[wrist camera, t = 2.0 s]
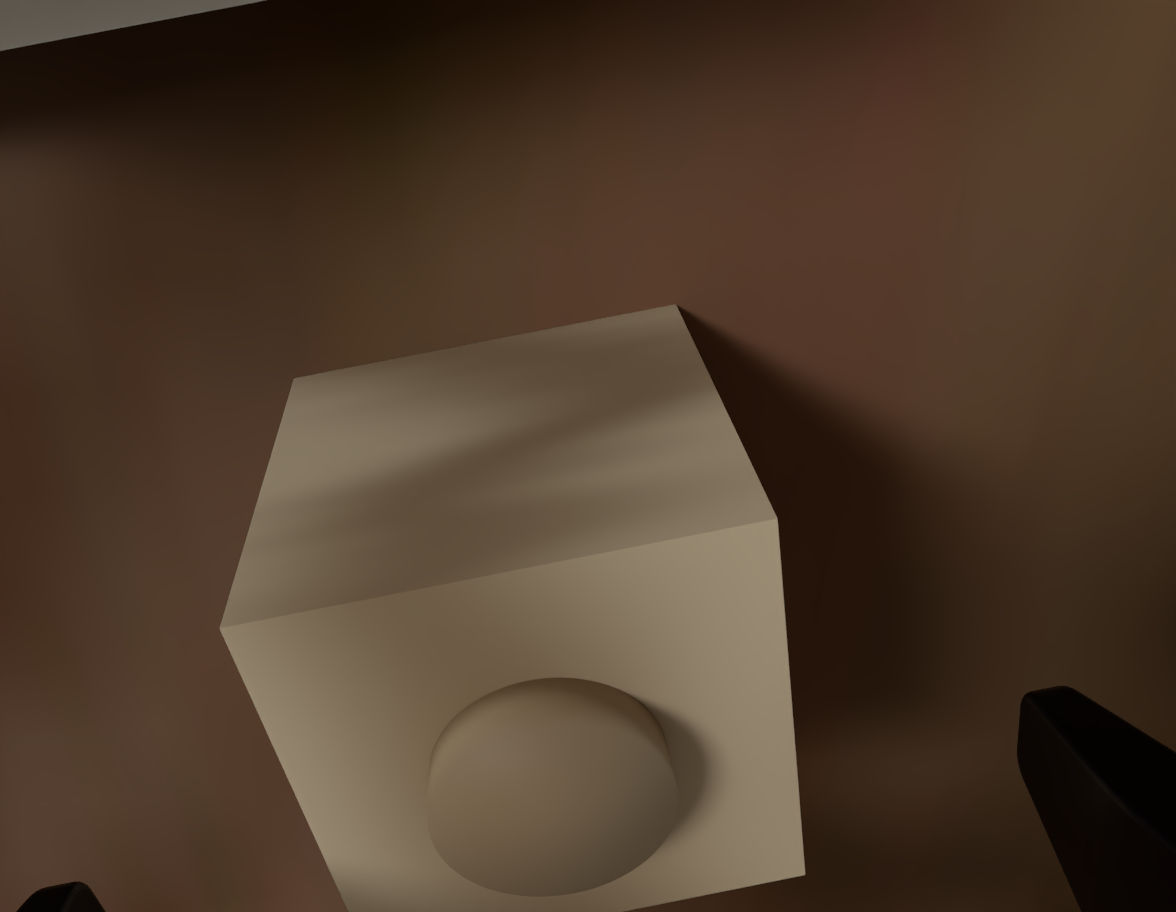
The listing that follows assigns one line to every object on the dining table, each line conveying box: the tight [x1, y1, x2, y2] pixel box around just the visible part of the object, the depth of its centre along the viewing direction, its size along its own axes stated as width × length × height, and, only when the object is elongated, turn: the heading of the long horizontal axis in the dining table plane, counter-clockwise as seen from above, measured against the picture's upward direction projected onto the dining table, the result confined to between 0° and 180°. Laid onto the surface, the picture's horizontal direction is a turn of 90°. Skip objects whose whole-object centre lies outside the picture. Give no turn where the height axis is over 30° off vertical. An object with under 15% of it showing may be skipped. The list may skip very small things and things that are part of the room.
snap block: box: [220, 304, 805, 912], centre depth 12 cm, size 5×5×6 cm
